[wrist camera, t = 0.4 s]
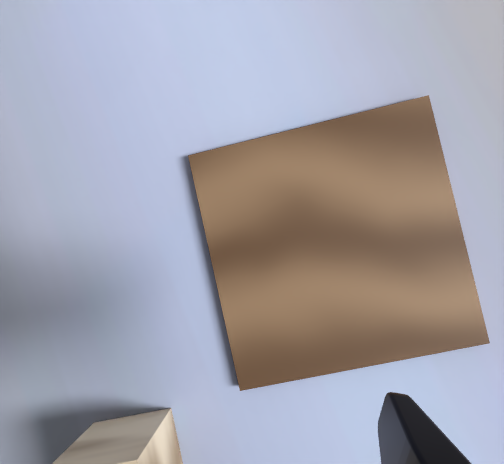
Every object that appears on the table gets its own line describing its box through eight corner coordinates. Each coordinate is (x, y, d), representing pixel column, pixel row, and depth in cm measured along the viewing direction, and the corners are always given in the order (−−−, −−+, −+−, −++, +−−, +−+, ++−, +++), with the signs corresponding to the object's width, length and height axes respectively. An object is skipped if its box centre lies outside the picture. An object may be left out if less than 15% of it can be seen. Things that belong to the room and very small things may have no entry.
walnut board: (483, 339, 19) (489, 343, 19) (241, 386, 21) (240, 390, 20) (424, 99, 20) (428, 95, 19) (190, 157, 21) (188, 155, 20)
